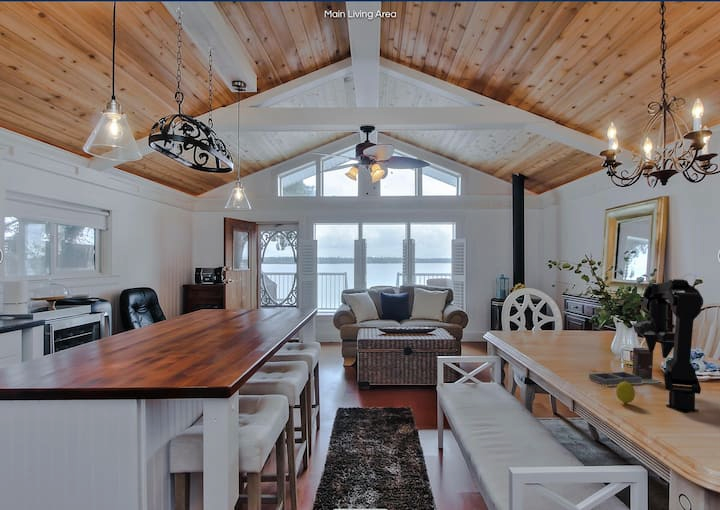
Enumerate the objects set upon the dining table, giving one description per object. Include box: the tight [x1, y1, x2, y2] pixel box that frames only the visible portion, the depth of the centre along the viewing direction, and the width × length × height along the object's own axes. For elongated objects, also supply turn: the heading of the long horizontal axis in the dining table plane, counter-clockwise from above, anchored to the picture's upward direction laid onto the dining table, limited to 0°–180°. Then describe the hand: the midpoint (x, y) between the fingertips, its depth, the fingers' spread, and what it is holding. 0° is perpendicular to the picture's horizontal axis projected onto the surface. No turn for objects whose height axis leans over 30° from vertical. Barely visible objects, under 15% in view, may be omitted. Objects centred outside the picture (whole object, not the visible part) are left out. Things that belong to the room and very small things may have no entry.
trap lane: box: [588, 371, 663, 387], centre depth 176 cm, size 10×27×2 cm, turn 103°
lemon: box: [615, 381, 636, 405], centre depth 148 cm, size 6×6×8 cm
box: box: [631, 347, 654, 379], centre depth 178 cm, size 6×4×12 cm
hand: (657, 355), depth 166 cm, fingers open, 9 cm apart
